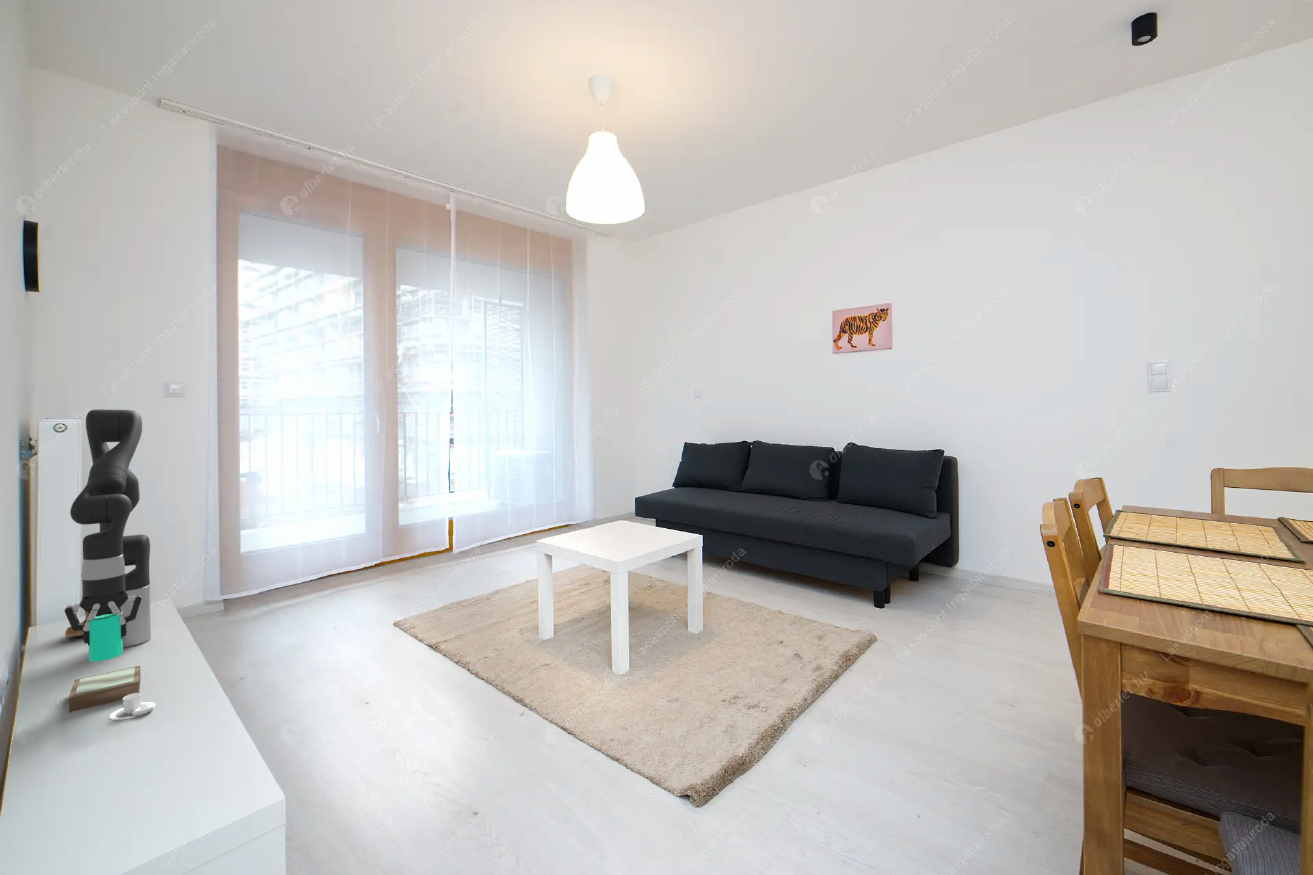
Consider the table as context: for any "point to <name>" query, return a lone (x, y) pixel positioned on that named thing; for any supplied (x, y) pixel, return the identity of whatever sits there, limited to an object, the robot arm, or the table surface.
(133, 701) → the teacup and saucer
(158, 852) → the table surface
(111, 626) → the candle
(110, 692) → the framed mirror
